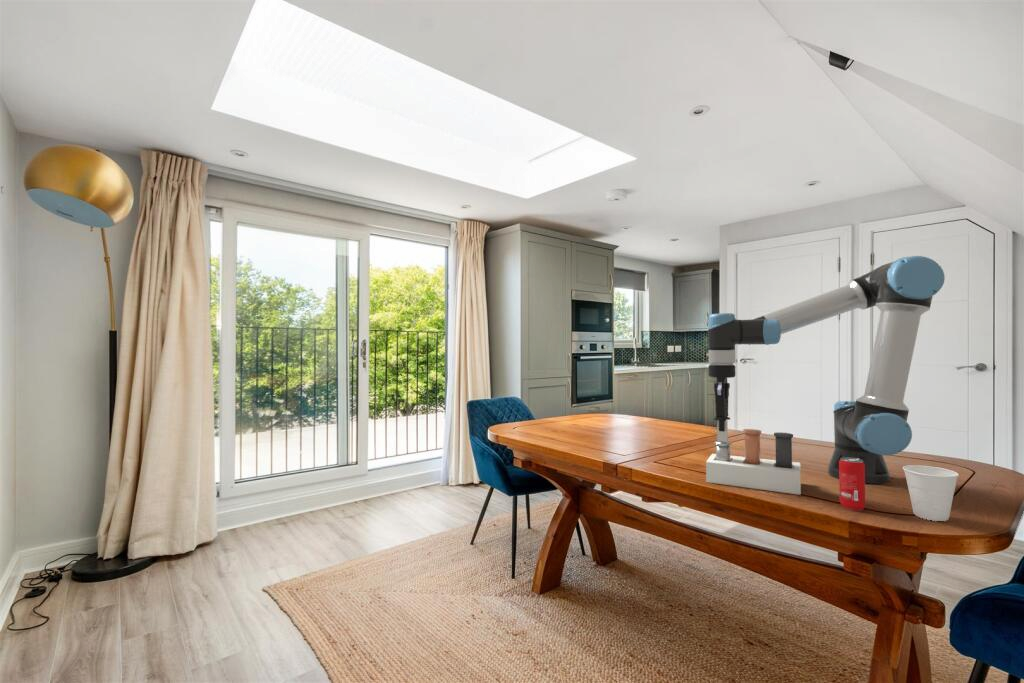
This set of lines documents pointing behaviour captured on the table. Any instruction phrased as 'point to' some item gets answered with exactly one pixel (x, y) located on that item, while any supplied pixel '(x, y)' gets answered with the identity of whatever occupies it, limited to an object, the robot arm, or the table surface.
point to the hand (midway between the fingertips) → (722, 441)
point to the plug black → (783, 450)
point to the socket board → (754, 474)
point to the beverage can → (852, 483)
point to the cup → (931, 491)
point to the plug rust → (752, 446)
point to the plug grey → (723, 451)
